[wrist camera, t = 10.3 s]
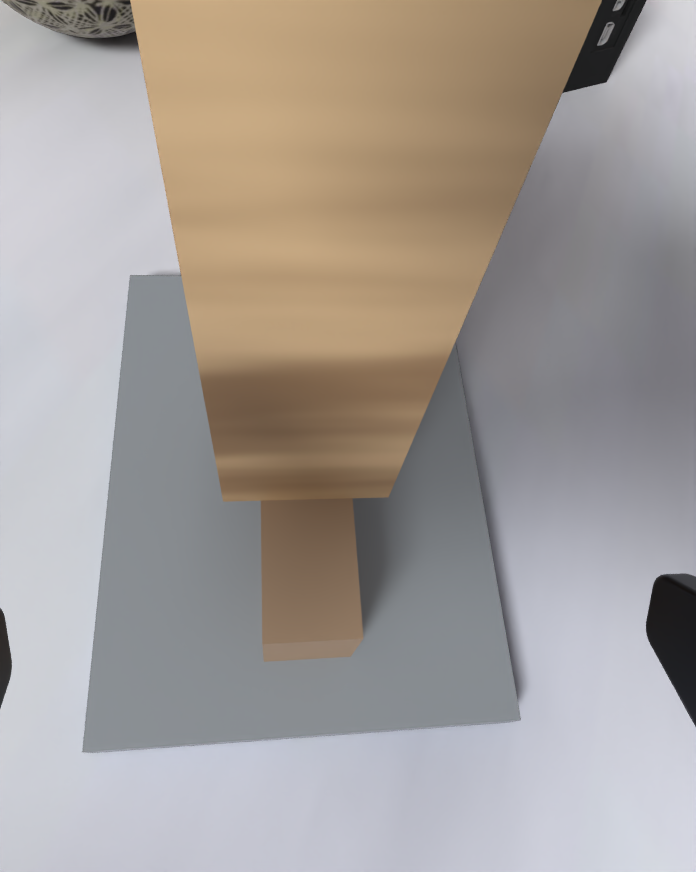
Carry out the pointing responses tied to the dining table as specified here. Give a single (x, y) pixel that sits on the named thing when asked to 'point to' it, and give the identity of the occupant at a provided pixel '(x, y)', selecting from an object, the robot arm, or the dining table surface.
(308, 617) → the ridge stand
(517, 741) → the dining table surface
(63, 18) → the decorative egg
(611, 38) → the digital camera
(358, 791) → the dining table surface
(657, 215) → the dining table surface
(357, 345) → the oak block
